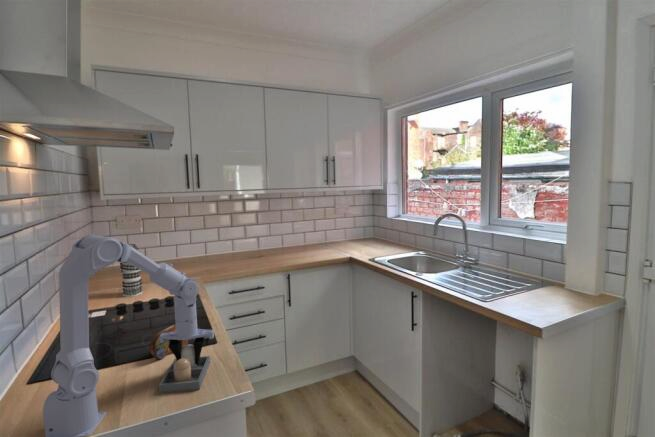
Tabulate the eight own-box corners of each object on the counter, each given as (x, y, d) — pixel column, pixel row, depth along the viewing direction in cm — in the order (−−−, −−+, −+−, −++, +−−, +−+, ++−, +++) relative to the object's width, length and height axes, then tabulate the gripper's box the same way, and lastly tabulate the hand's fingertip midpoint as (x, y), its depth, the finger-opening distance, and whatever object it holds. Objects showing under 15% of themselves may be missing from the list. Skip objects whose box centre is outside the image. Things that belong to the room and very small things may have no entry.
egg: (179, 372, 101) (178, 349, 100) (184, 364, 105) (182, 342, 104) (195, 370, 101) (193, 347, 100) (198, 363, 105) (197, 341, 105)
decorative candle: (117, 297, 172) (113, 246, 169) (130, 291, 181) (126, 243, 178) (135, 297, 171) (130, 246, 168) (147, 291, 180) (143, 243, 177)
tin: (156, 364, 108) (154, 337, 107) (149, 362, 109) (147, 336, 108) (192, 342, 122) (190, 319, 121) (185, 341, 123) (183, 318, 122)
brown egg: (173, 388, 94) (171, 363, 93) (177, 379, 98) (175, 356, 98) (189, 386, 95) (187, 362, 94) (193, 378, 99) (191, 354, 98)
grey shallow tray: (159, 394, 92) (158, 385, 92) (175, 367, 106) (174, 358, 106) (199, 390, 94) (199, 381, 93) (210, 364, 107) (209, 355, 107)
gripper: (214, 311, 106) (217, 354, 108) (164, 314, 104) (167, 358, 106) (210, 320, 99) (212, 366, 101) (155, 324, 97) (159, 370, 99)
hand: (189, 363), depth 103 cm, fingers closed on egg, 4 cm apart
